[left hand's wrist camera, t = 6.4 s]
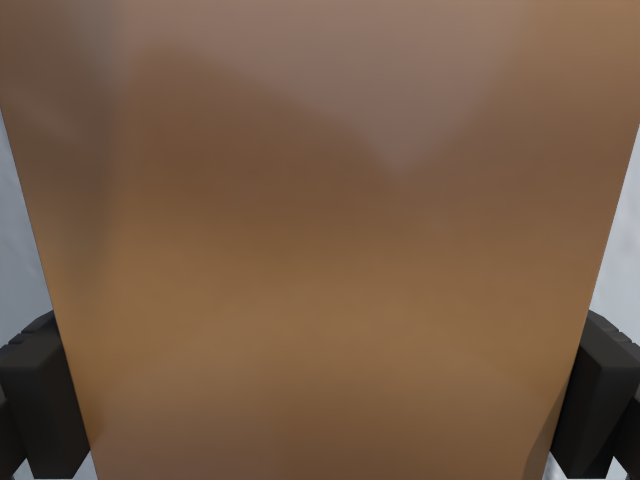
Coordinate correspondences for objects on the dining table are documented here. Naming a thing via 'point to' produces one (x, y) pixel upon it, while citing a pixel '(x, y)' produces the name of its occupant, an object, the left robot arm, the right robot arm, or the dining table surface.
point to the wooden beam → (320, 224)
